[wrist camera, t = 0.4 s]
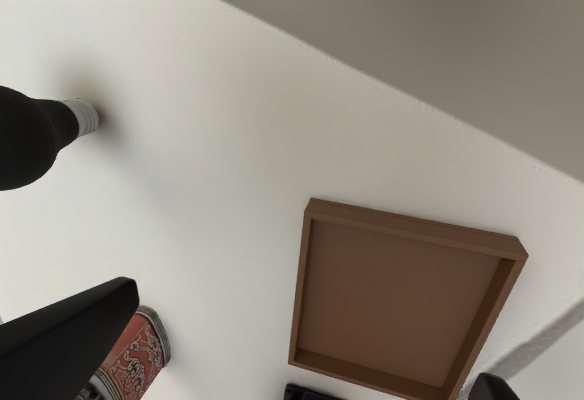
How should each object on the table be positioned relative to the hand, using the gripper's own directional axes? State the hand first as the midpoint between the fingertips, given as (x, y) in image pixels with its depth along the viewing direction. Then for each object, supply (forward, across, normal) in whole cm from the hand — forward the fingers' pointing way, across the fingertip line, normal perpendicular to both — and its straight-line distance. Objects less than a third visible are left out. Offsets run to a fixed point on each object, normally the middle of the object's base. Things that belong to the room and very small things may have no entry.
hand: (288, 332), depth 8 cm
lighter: (+15, +17, +22) cm, 32 cm away
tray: (+14, -4, +11) cm, 18 cm away
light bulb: (+14, +19, 0) cm, 24 cm away
